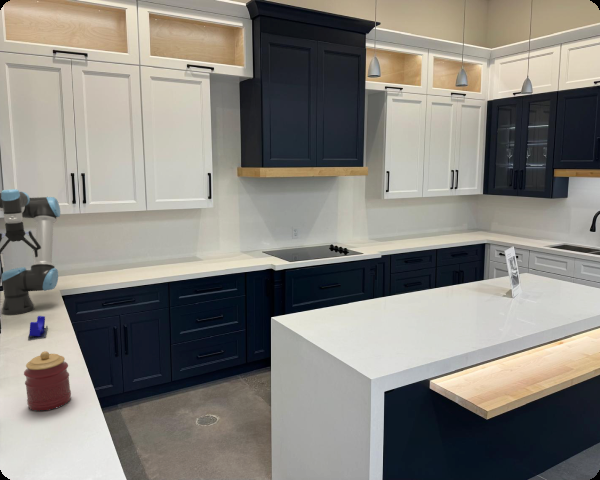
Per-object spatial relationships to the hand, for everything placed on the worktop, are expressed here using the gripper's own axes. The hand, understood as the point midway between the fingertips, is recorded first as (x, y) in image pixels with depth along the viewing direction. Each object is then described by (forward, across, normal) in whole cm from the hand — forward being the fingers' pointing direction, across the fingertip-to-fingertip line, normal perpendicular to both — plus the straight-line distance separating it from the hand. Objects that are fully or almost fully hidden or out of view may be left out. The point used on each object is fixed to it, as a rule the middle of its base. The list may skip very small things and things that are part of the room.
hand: (19, 265), depth 243 cm
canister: (+28, +14, -98) cm, 103 cm away
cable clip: (+29, +6, -18) cm, 35 cm away
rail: (+30, +6, -19) cm, 36 cm away
